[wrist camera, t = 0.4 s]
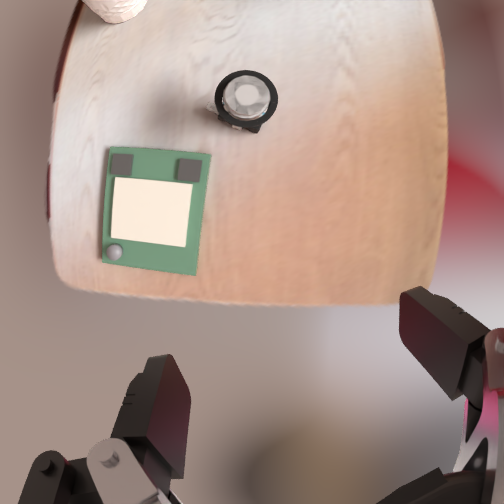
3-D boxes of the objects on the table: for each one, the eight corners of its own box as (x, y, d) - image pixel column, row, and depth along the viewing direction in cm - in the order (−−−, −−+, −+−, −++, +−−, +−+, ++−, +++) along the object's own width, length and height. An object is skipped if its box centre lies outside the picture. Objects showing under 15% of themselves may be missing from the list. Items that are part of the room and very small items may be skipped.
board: (113, 147, 30) (106, 145, 27) (211, 155, 31) (210, 153, 29) (105, 259, 33) (98, 265, 31) (196, 272, 35) (194, 279, 32)
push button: (200, 128, 30) (189, 109, 21) (216, 87, 29) (212, 54, 19) (255, 146, 31) (267, 134, 22) (270, 105, 30) (288, 79, 20)
